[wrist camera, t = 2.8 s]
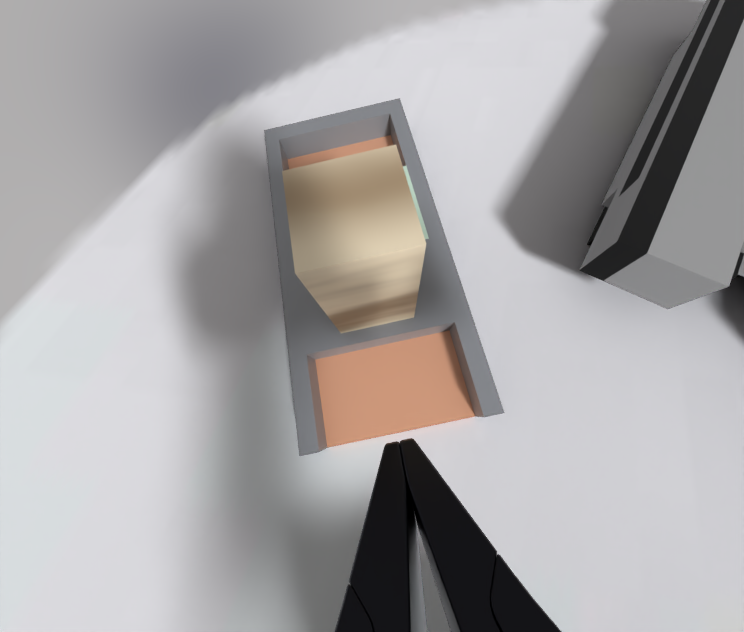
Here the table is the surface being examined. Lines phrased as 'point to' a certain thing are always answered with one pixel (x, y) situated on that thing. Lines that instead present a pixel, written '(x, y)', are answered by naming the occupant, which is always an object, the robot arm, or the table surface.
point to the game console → (682, 175)
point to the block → (356, 237)
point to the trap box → (383, 342)
